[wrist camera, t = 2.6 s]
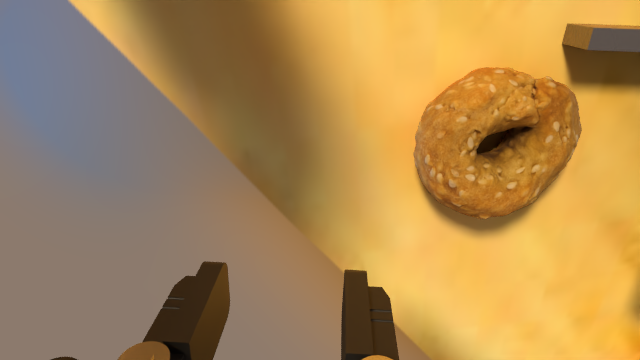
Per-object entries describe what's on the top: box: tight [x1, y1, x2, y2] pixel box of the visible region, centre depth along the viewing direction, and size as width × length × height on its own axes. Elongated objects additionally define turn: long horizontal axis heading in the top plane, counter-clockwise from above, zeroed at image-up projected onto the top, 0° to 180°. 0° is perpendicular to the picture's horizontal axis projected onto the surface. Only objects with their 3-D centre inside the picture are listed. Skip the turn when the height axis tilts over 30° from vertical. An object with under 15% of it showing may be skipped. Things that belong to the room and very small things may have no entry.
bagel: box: [414, 67, 581, 219], centre depth 27 cm, size 10×11×5 cm
